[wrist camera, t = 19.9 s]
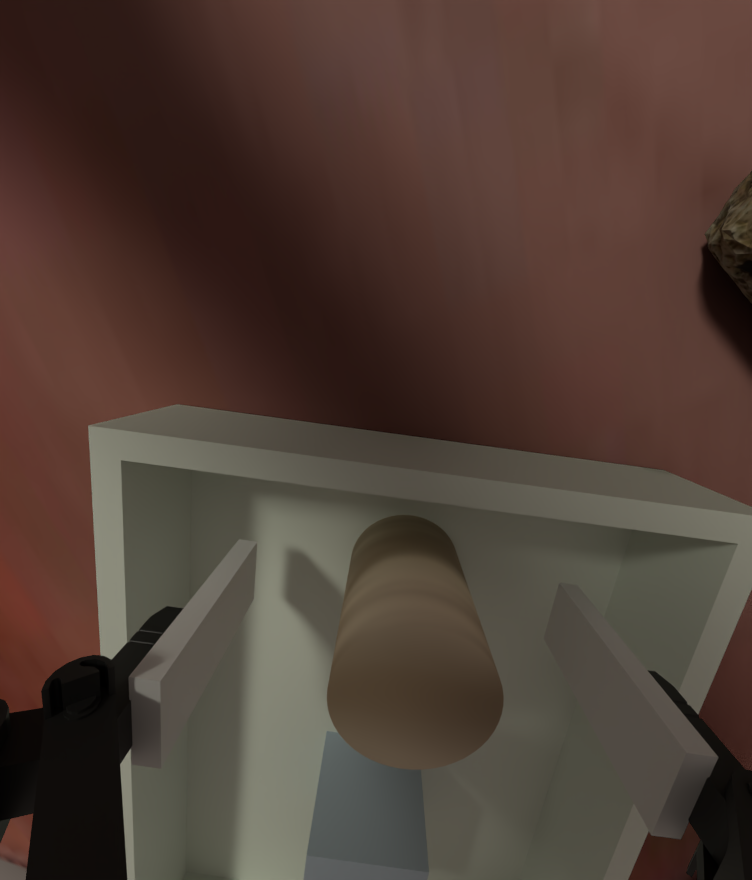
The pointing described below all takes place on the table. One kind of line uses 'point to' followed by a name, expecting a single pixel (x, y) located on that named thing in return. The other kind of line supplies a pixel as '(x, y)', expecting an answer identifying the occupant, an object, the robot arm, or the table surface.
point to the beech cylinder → (411, 652)
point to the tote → (318, 615)
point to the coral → (735, 237)
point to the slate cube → (366, 819)
